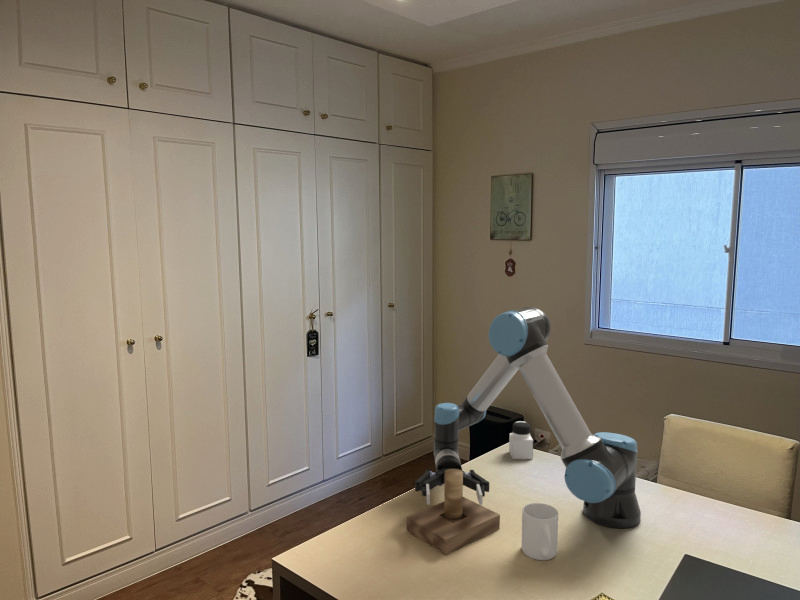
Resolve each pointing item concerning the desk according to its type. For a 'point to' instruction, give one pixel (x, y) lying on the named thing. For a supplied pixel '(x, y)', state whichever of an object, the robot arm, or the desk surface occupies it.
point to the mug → (539, 531)
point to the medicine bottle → (521, 441)
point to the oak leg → (453, 495)
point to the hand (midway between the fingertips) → (454, 499)
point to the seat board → (452, 526)
